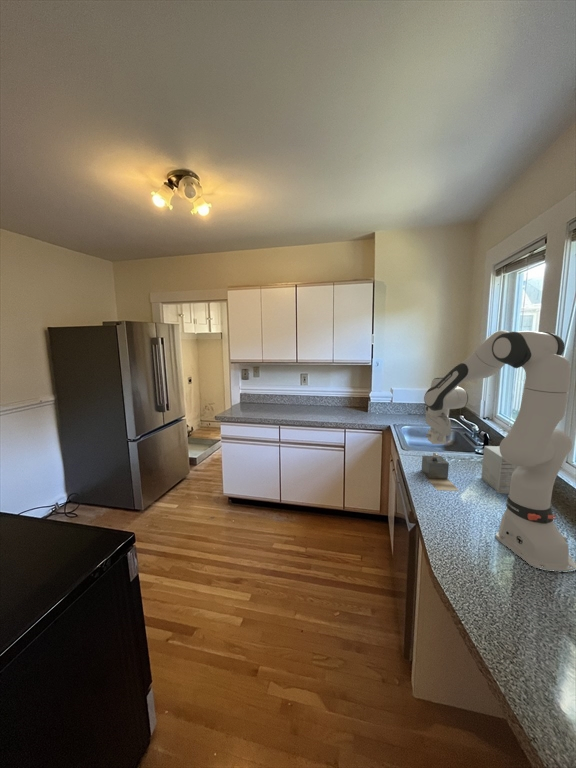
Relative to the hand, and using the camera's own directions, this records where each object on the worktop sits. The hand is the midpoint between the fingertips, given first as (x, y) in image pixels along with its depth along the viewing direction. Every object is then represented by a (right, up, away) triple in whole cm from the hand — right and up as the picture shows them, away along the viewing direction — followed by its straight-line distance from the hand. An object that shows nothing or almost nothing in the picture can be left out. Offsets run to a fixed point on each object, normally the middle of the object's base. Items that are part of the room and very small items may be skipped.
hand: (436, 438), depth 150 cm
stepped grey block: (0, -18, +3) cm, 19 cm away
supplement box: (+28, -22, -6) cm, 36 cm away
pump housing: (0, -2, 0) cm, 2 cm away
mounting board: (0, -21, -2) cm, 21 cm away
